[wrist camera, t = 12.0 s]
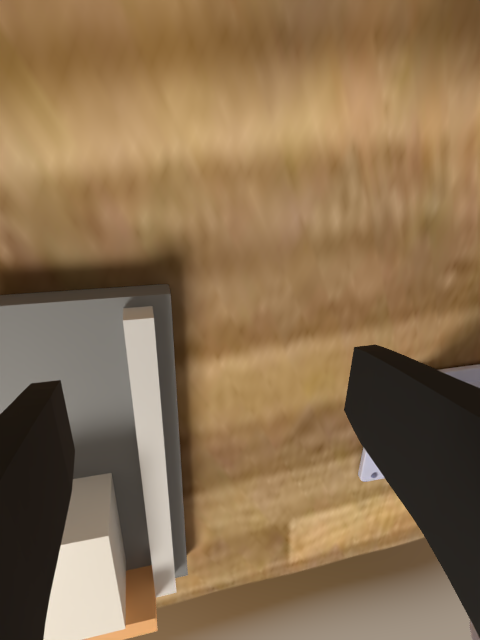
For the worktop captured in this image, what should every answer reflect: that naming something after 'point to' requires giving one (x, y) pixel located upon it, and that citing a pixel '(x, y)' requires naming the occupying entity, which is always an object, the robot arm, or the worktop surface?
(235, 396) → the worktop surface
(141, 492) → the rail mount board
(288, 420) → the worktop surface
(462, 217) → the worktop surface
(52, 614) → the block
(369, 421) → the robot arm
